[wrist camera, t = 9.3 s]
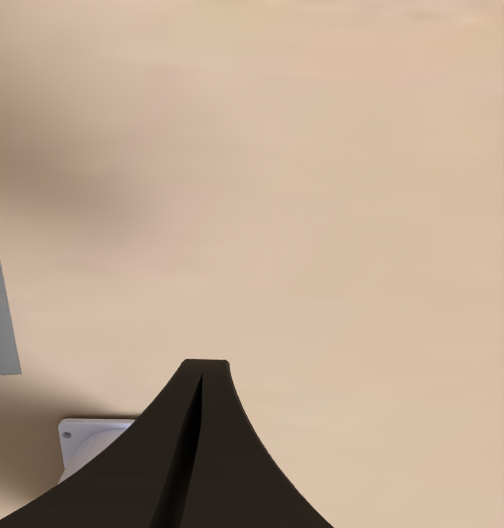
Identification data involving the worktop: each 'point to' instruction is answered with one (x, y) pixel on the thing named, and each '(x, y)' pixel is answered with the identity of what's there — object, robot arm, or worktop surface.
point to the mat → (7, 336)
